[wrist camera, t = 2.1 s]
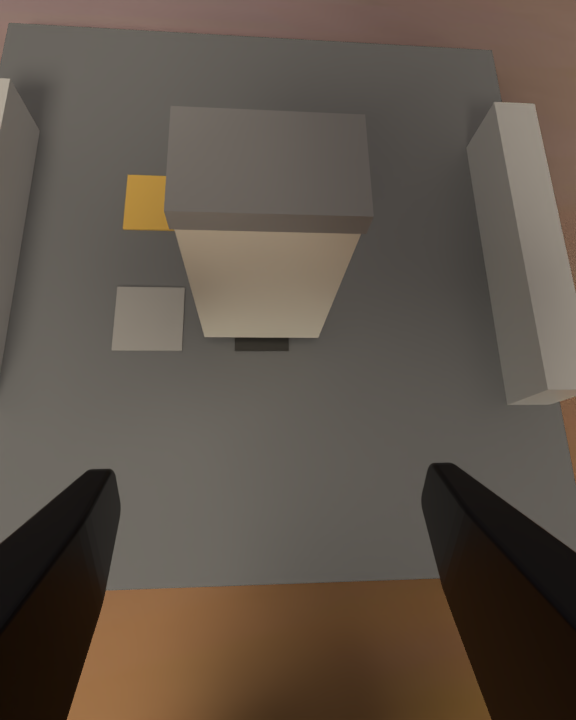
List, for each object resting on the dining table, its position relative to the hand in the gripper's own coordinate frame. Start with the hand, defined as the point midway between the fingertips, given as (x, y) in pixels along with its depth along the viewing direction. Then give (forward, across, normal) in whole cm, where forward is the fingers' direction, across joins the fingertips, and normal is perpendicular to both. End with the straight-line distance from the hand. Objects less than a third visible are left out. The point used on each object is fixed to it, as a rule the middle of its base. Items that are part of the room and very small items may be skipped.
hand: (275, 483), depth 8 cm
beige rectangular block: (+13, 0, +2) cm, 13 cm away
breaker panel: (+16, 0, +1) cm, 16 cm away
